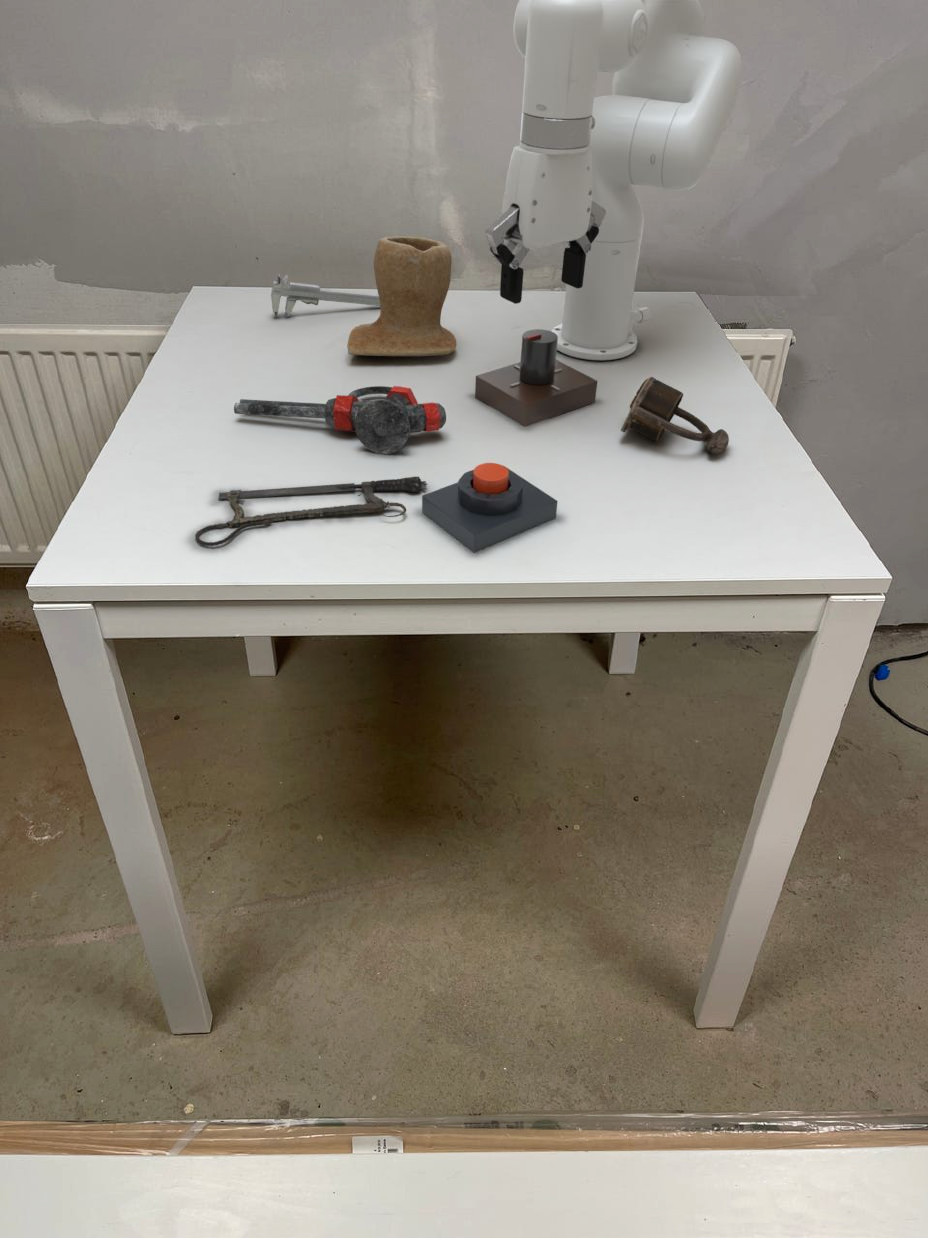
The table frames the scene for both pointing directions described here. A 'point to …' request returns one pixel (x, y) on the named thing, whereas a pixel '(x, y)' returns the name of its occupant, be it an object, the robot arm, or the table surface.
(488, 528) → the button box
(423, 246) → the stone cup
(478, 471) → the button
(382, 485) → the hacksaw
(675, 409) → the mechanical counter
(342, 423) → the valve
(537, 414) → the dial panel
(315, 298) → the caliper
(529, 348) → the dial
